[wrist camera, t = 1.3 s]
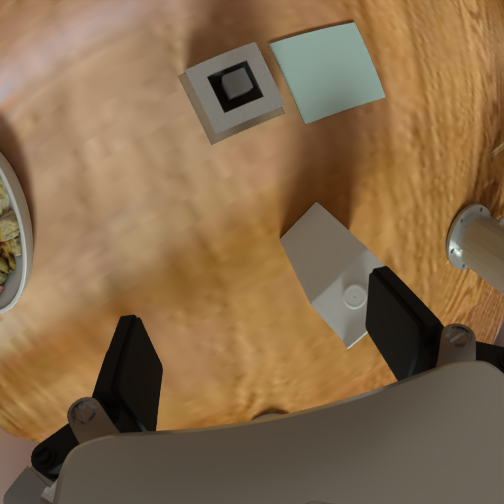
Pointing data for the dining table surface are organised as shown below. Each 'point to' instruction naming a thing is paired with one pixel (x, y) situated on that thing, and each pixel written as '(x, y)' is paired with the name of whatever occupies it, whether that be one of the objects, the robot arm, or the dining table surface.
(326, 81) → the mat
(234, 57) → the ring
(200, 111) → the post
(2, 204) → the bowl
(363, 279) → the milk carton
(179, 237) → the dining table surface
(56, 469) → the robot arm
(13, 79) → the dining table surface
